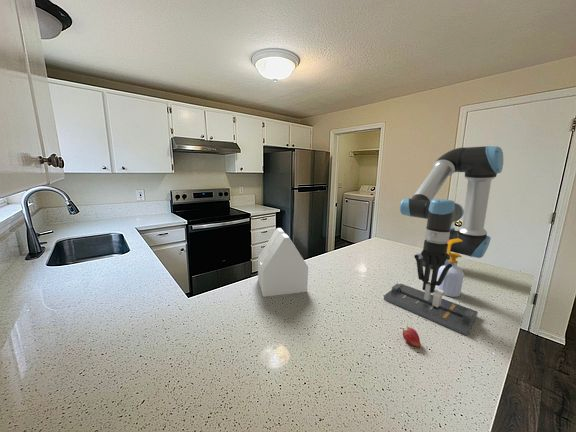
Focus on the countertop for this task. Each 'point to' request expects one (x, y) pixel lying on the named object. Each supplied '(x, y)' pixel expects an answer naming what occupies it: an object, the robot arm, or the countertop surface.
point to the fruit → (411, 336)
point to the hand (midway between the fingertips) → (426, 298)
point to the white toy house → (281, 267)
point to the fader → (437, 297)
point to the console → (432, 308)
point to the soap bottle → (452, 274)
